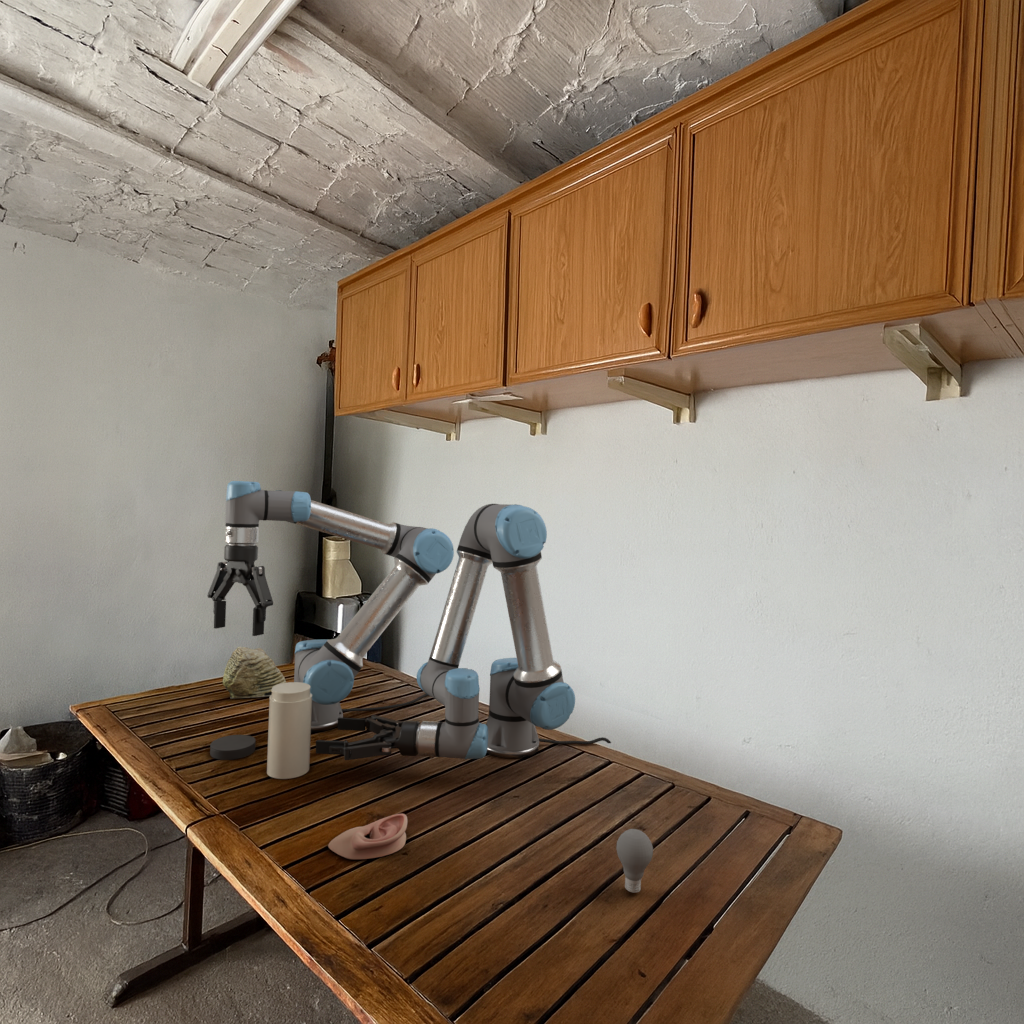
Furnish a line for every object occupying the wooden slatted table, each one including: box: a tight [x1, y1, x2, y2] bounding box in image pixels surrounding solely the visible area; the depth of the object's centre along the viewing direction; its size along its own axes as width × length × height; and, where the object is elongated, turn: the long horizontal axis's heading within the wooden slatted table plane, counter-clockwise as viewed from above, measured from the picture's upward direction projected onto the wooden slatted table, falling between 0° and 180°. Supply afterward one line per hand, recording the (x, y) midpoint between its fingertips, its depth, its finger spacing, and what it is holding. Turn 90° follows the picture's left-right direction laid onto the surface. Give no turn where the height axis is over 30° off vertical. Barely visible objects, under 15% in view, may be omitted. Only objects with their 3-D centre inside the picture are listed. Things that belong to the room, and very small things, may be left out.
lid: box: [209, 734, 257, 761], centre depth 155 cm, size 10×10×2 cm
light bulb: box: [615, 828, 654, 894], centre depth 106 cm, size 6×6×10 cm
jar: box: [266, 681, 312, 780], centre depth 146 cm, size 9×9×19 cm
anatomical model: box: [327, 813, 408, 861], centre depth 116 cm, size 13×4×12 cm
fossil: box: [222, 646, 287, 699], centre depth 198 cm, size 9×18×15 cm, turn 132°
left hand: (238, 631), depth 154 cm, fingers open, 13 cm apart
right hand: (327, 734), depth 145 cm, fingers open, 13 cm apart
